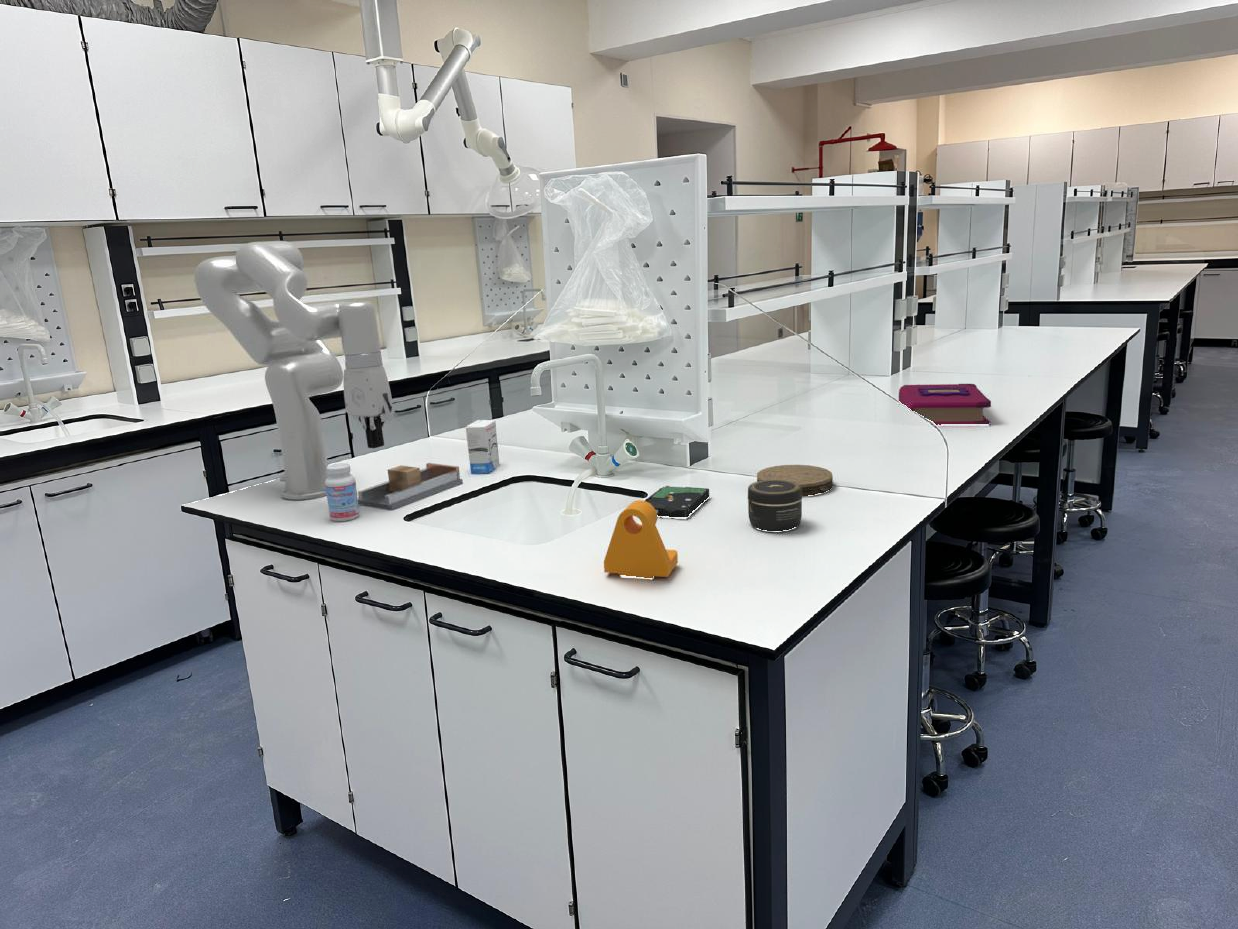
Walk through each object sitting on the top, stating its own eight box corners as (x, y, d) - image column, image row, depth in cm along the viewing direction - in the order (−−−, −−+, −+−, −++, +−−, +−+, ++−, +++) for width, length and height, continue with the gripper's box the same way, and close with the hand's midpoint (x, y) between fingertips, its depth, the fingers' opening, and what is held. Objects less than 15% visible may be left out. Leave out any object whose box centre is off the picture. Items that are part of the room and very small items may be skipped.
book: (907, 428, 233) (908, 400, 231) (898, 407, 259) (899, 382, 257) (990, 428, 228) (992, 400, 226) (972, 407, 255) (974, 381, 253)
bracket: (679, 565, 145) (676, 497, 142) (667, 581, 139) (664, 510, 136) (618, 561, 149) (614, 494, 146) (604, 577, 142) (600, 507, 139)
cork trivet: (763, 500, 178) (763, 486, 177) (751, 479, 193) (751, 466, 192) (841, 496, 178) (841, 482, 177) (822, 475, 193) (822, 462, 193)
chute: (357, 504, 191) (355, 486, 190) (428, 478, 208) (426, 462, 207) (392, 510, 185) (390, 492, 184) (462, 483, 202) (461, 466, 201)
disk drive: (687, 523, 168) (710, 500, 181) (686, 509, 167) (709, 487, 180) (637, 519, 172) (663, 496, 185) (637, 505, 171) (663, 484, 184)
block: (390, 491, 195) (387, 469, 194) (403, 486, 198) (400, 465, 197) (409, 494, 192) (406, 472, 190) (422, 489, 195) (419, 467, 194)
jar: (738, 522, 165) (737, 483, 163) (784, 513, 168) (784, 476, 166) (765, 537, 156) (764, 497, 154) (812, 528, 159) (812, 488, 157)
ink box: (488, 474, 209) (484, 426, 206) (469, 474, 210) (464, 426, 207) (500, 464, 218) (496, 419, 215) (481, 464, 219) (477, 419, 216)
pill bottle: (329, 523, 178) (321, 471, 175) (330, 515, 184) (323, 464, 181) (360, 519, 179) (352, 467, 177) (360, 511, 185) (353, 460, 182)
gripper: (325, 364, 182) (339, 448, 187) (374, 364, 174) (387, 453, 178) (353, 359, 188) (366, 441, 193) (402, 359, 180) (413, 444, 185)
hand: (376, 446), depth 186 cm, fingers closed
